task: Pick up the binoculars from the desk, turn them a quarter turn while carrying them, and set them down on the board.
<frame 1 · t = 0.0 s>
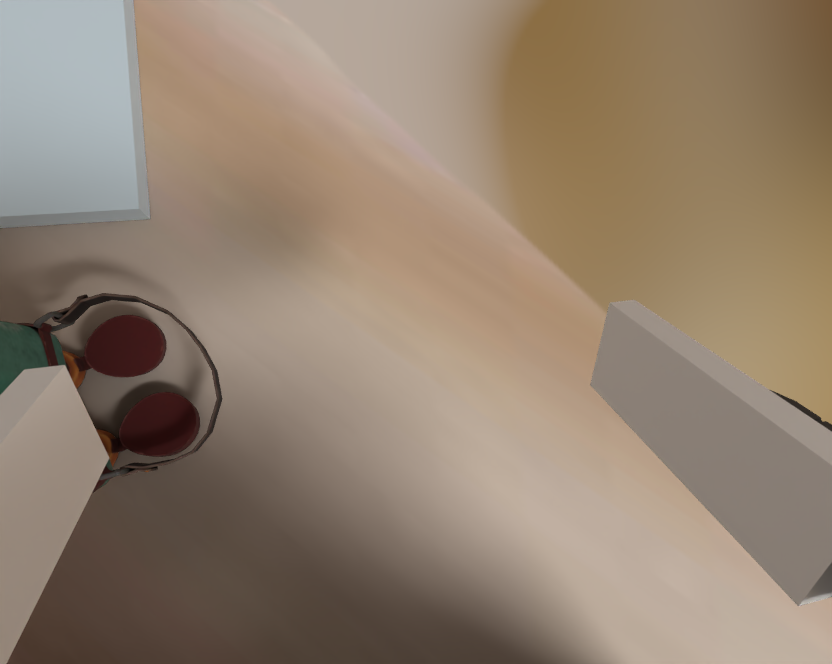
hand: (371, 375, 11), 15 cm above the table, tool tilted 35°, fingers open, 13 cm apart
binoculars: (135, 389, 24), on the table
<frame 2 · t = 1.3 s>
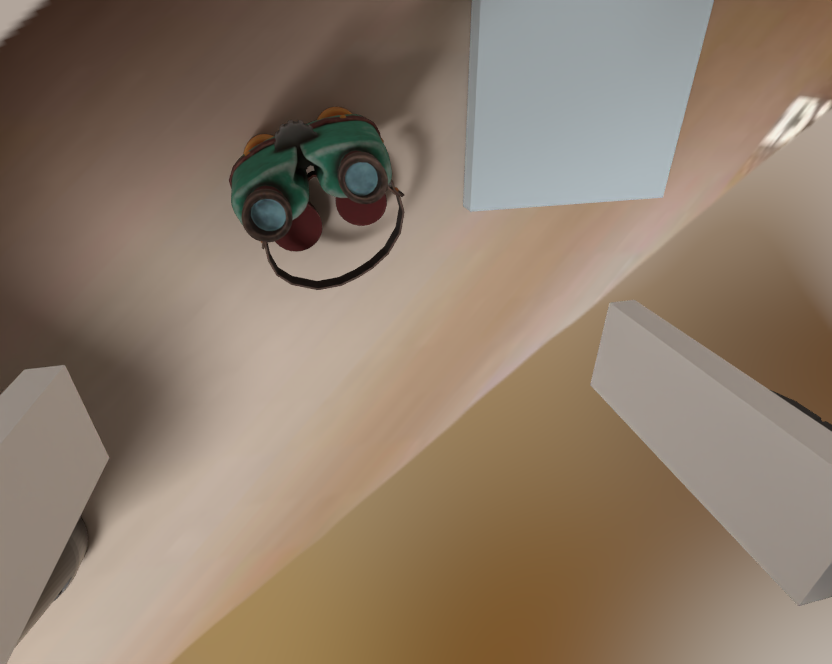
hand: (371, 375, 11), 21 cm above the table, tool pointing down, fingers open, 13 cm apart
binoculars: (323, 191, 29), on the table
board: (577, 82, 29), on the table
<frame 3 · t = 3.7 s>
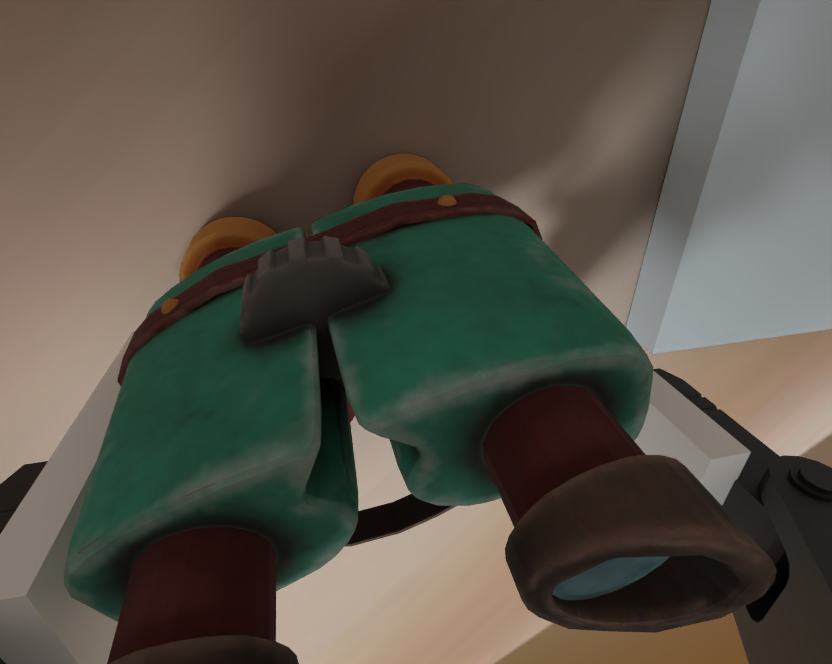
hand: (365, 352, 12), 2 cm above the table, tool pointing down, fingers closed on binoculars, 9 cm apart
binoculars: (363, 322, 14), on the table, touching gripper
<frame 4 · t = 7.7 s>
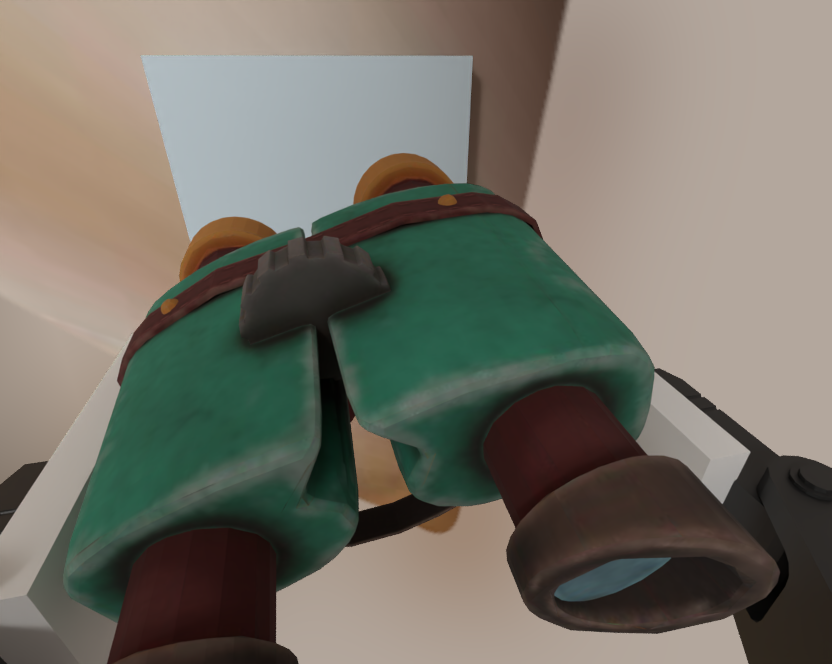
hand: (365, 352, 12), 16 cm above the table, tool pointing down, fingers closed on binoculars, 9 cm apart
binoculars: (363, 322, 14), point 14 cm above the table, touching gripper
board: (332, 210, 26), on the table
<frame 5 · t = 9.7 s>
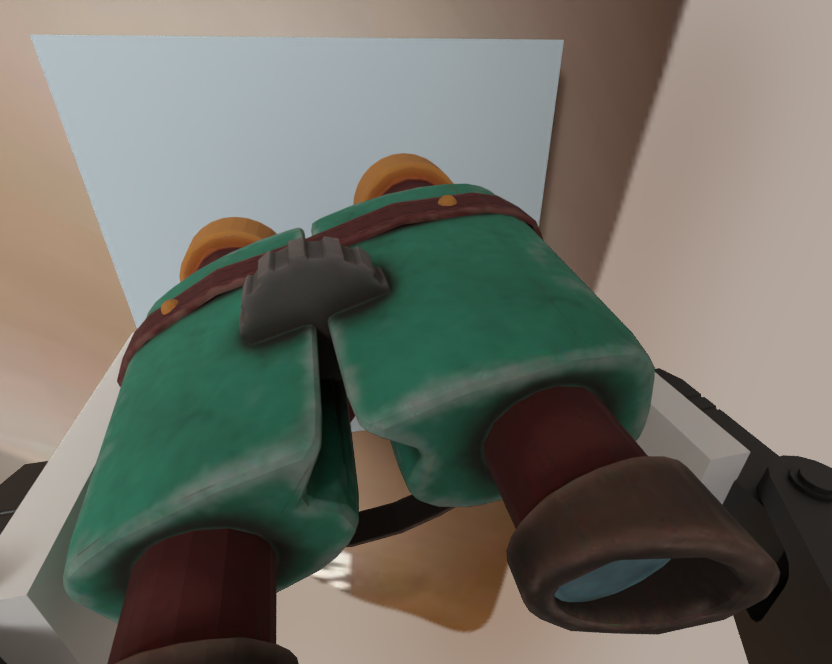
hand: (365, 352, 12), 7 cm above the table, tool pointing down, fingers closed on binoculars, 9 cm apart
binoculars: (364, 322, 14), point 5 cm above the table, touching gripper
board: (344, 264, 18), on the table
when the fingers open (4 cm above the table, at t = 11.4 s): binoculars stays where it is, resting on board.
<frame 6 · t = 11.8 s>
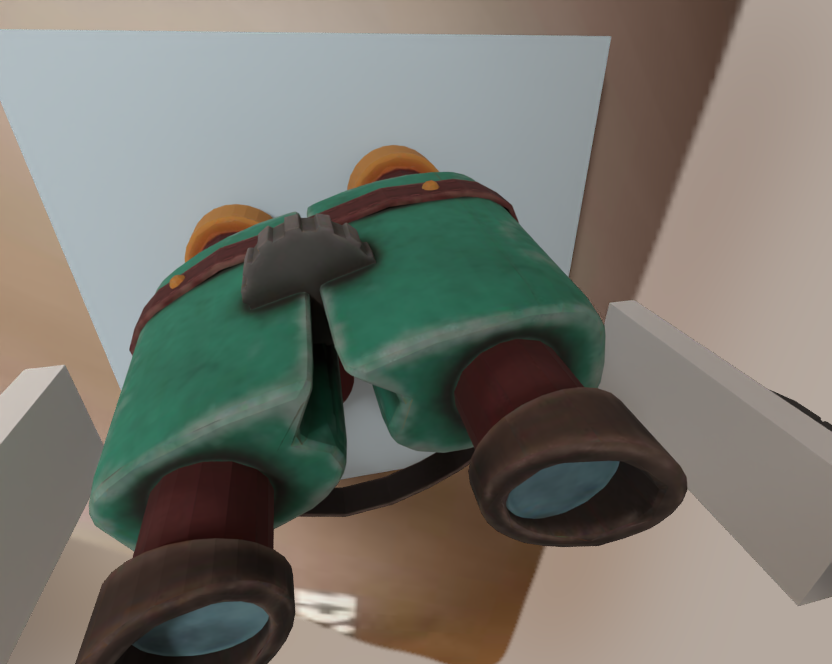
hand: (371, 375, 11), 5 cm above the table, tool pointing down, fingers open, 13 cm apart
binoculars: (357, 306, 15), point 1 cm above the table, touching board
board: (351, 291, 16), on the table
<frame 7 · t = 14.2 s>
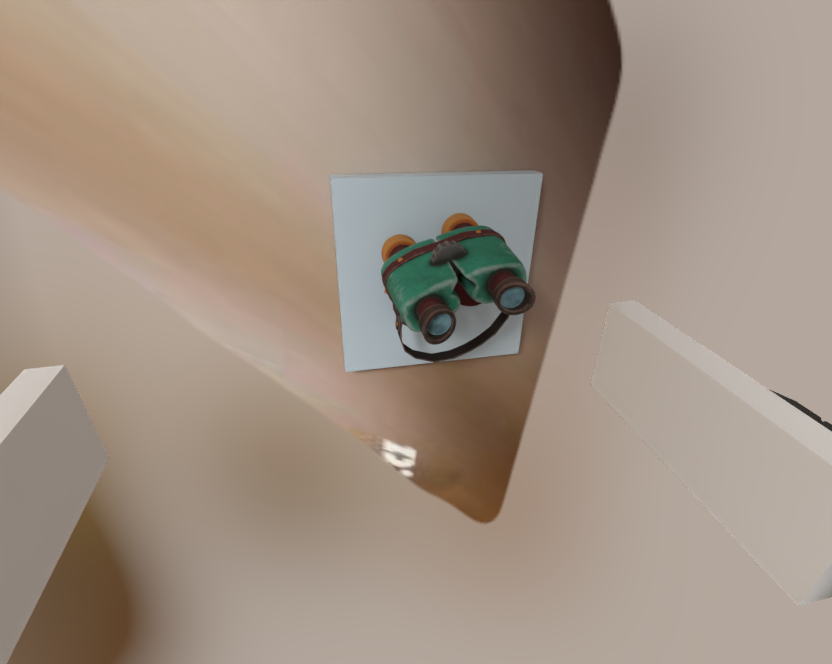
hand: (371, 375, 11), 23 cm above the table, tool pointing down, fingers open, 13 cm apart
binoculars: (438, 277, 34), point 1 cm above the table, touching board
board: (433, 271, 35), on the table
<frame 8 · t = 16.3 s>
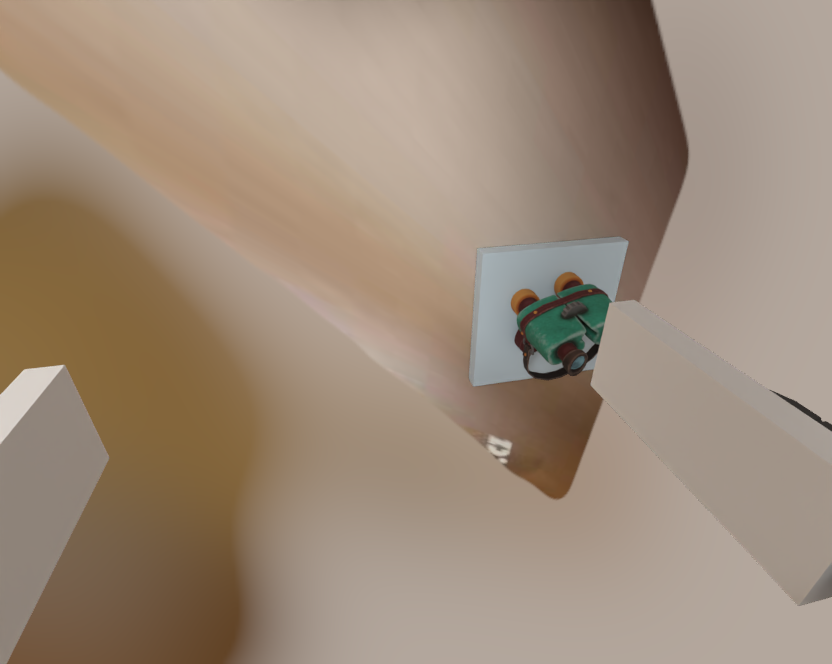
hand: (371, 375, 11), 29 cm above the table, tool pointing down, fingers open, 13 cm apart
binoculars: (547, 316, 46), point 1 cm above the table, touching board
board: (540, 311, 47), on the table
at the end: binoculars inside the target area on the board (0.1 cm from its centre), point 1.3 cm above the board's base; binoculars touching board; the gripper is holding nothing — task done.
